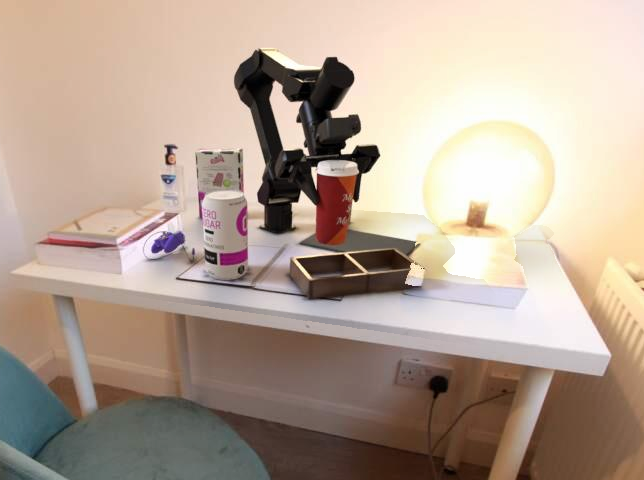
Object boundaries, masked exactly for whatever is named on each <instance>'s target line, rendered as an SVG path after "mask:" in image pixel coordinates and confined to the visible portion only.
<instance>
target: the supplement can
mask: <svg viewBox="0 0 644 480" xmlns="http://www.w3.org/2000/svg"><path fill="white" fill-rule="evenodd" d="M202 216H203V218H202V229H203V230H202V231H203V249H204V265H205V266H204V267H205V268H204V270H205V273H207V274H208V275H209V276H210V277H211V278H213V279H215V280H222V281H230V280H235V279H239V278H242V277H243V276H244V275H246V273H247V272H248V271H249V238H248V237H249V236H248V235H249V234H248V232H249V230H248V224H249V223H248V222H249V221H248V217H249V216H248V200H247V199H246V196H245V192H244V193H243V192H241V191H237V190H215V191H211V192H208V193H206V194H205V198H204V200H203V202H202Z"/></svg>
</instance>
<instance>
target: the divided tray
mask: <svg viewBox="0 0 644 480" xmlns="http://www.w3.org/2000/svg"><path fill="white" fill-rule="evenodd" d="M414 261H415V260H414V259H412V258H411V257H409V255H408V254H407V255H405V254H404V253H402V252H401V251H399V250H398V249H397V248H386V249H375V250H365V251H354V252H343V253H341V252H335V253H334V252H333V253H323V254H322V253H321V254H313V255H301V256H291V257H289V276H290V278H291V279H292V280H293V281H294V283H295V284H296V285H297V286H298V288H299V289H300V290H301V291H302V293H303V294H304V295H305V297H306V298H307V299H308V300H314V299H322V298H332V297H340V296H341V297H342V296H350V295H358V294H367V293H369V294H370V293H377V292H386V291H395V290H405V289H414V288H420V287H419V286H412V285H408V284H405V281H406V278H407V275H408V273H409V271H410V270H411V268H410V265H411V263H414ZM414 264H415V265H418V264H419V263H418V262H417V261H415V263H414ZM419 265H420V266H422V265H421V264H419ZM387 267H392V268H393V269H391V270H380V271H379V270H378V271H370V272H369V271H368V270H366V269H377V268H387ZM421 269H422V268H421ZM423 269H425V270H426V267H424V268H423ZM337 272H338V273H339V272H342V273H343V274H342V275H332V276H331V275H330V276H321V277H314V278H313V277H312V276H311V275H317V274H318V275H319V274H325V273H326V274H327V273H337Z"/></svg>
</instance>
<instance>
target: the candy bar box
mask: <svg viewBox="0 0 644 480" xmlns="http://www.w3.org/2000/svg"><path fill="white" fill-rule="evenodd" d="M195 165H196V167H195V168H196V180H197V181H196V183H197V197H198V214H199V218H200V219H203V216H202V202H203V200H204V198H205V194H206V193H208V192H211V191H215V190H237V191H241V192H243V193H244V194H245V192H244V191H245V187H244V181H245V180H244V149H243V148H199V149H198V150H196V151H195Z"/></svg>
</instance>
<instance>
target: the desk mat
mask: <svg viewBox="0 0 644 480" xmlns="http://www.w3.org/2000/svg"><path fill="white" fill-rule="evenodd" d="M416 242H417V241H416V240H409V239H405V238H399V237H393V236H387V235H380V234H375V233H372V232H371V233H369V232H365V231H359V230H353V229H348V230H347V235H346V240H345V242H344V243H343V244H339V245H326V244H322V243H319V242H317V240H316V232H315V233H313V234H312V235H310V236H308V237H307V238H305V239H303V240H301V241H300V242H299V245H303V246H306V247H313V248H317V249H323V250H327V251H332V252H335V253H343V252H354V251H365V250H375V249H386V248H397V249H398V250H399V251H401V252H402V253H404V254H405V255H407V256H408V255H409V254H410V253H411V252H412V251H413V250H415V248H416V247H415V243H416Z"/></svg>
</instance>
